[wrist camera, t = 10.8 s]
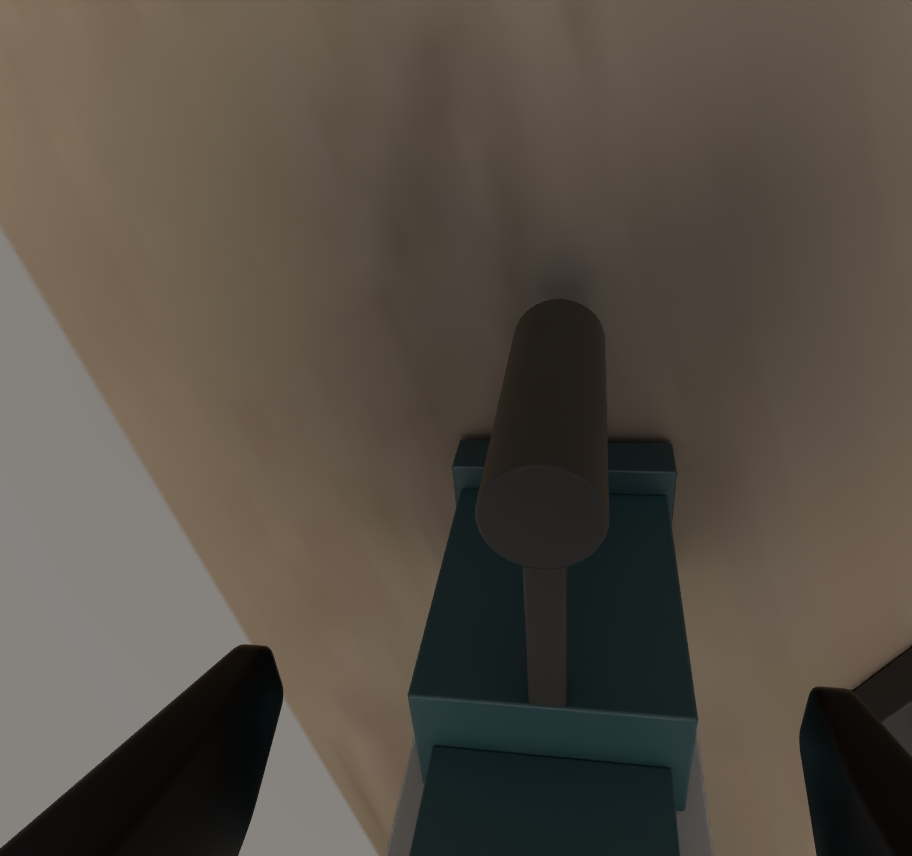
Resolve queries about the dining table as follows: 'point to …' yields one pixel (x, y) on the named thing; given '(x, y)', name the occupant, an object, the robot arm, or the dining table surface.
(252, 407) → the dining table surface
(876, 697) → the switch block
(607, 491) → the iron
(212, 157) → the dining table surface
